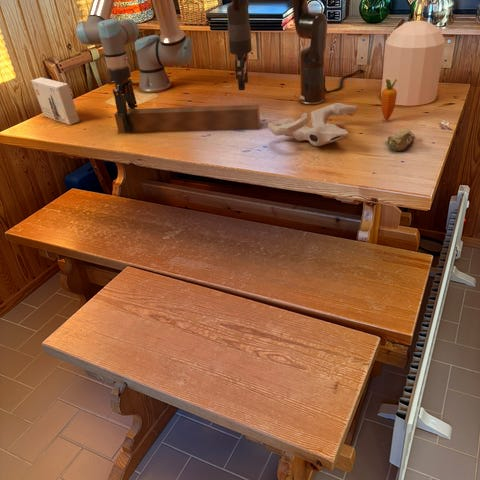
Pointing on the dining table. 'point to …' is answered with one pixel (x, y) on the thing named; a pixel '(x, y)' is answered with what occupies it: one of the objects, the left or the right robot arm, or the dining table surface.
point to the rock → (400, 140)
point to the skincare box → (55, 100)
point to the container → (414, 62)
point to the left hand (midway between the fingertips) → (132, 128)
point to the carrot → (388, 99)
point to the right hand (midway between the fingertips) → (243, 86)
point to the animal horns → (314, 125)
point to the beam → (192, 119)
